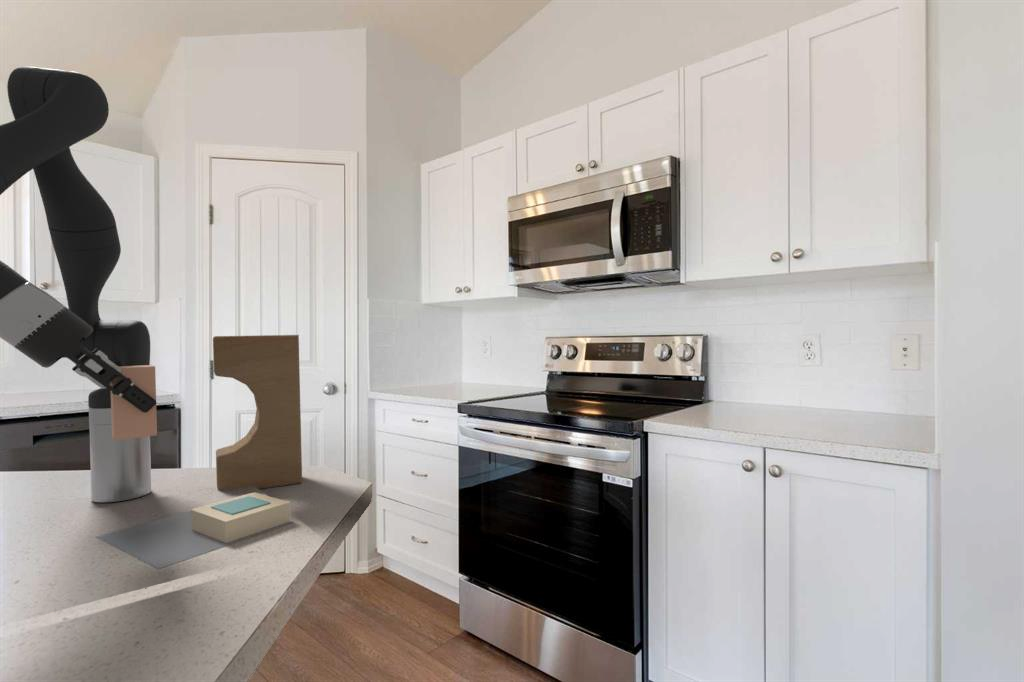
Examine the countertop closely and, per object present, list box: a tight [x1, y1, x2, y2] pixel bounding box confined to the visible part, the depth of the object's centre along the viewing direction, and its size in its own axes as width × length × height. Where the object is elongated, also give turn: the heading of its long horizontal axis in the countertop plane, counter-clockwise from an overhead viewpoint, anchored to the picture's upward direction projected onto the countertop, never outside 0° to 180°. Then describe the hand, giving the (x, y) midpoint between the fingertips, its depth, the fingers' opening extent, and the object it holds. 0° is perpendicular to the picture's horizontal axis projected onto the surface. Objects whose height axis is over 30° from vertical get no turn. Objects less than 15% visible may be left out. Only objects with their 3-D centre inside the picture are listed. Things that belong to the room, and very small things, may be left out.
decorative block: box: [212, 334, 303, 491], centre depth 107 cm, size 15×8×30 cm, turn 120°
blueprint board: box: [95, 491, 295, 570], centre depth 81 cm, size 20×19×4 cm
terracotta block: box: [111, 364, 158, 440], centre depth 78 cm, size 5×5×10 cm
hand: (148, 405), depth 79 cm, fingers closed on terracotta block, 5 cm apart
